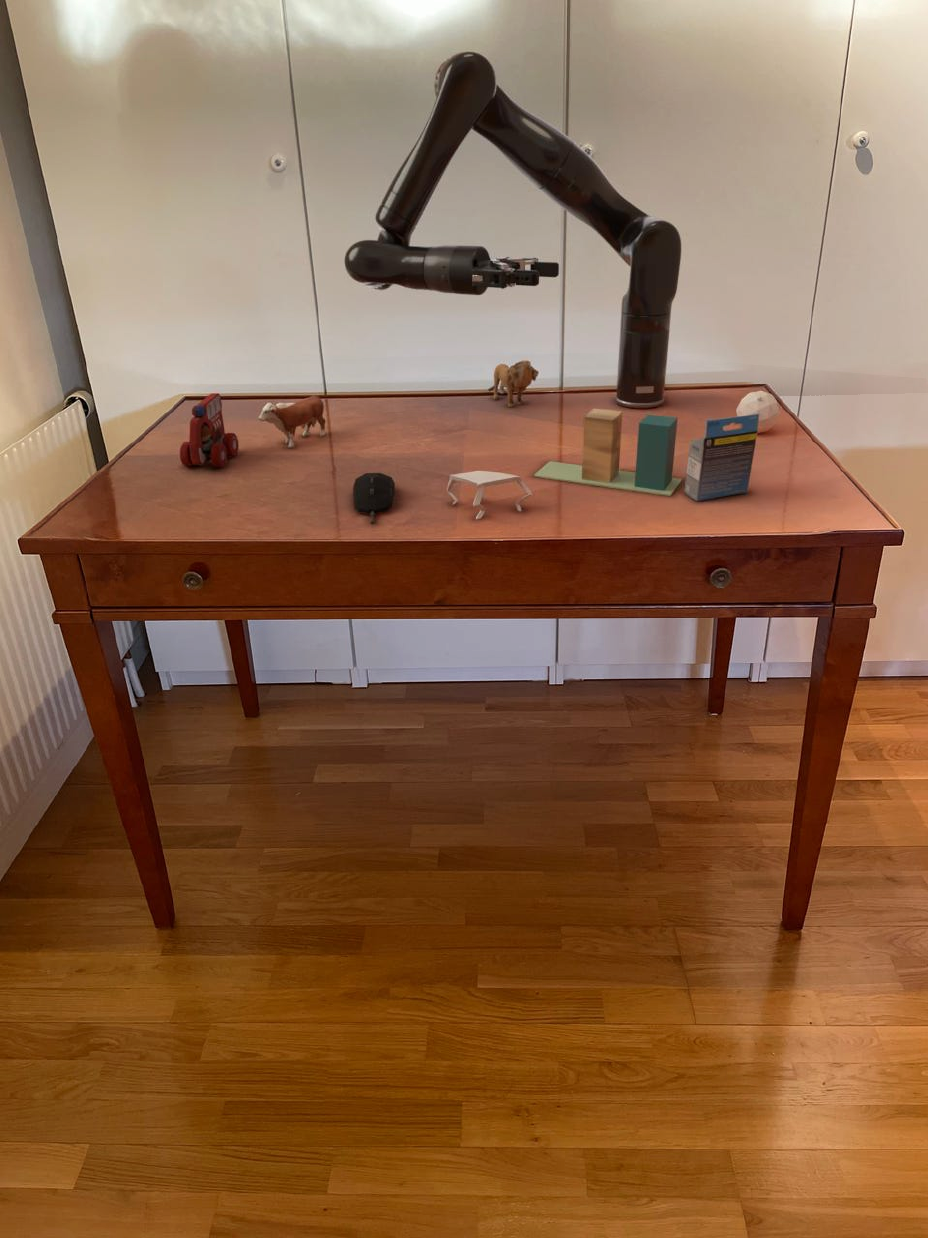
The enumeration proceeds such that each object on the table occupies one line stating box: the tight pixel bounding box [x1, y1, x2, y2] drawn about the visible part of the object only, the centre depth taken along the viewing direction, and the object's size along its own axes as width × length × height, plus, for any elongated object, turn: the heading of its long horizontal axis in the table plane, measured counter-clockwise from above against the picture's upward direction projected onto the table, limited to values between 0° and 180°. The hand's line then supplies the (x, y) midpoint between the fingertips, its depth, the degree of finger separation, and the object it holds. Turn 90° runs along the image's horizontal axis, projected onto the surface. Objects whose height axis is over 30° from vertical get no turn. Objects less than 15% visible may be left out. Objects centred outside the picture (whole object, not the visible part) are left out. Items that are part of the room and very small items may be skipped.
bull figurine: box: [258, 394, 327, 449], centre depth 157 cm, size 4×13×8 cm, turn 137°
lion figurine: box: [487, 359, 540, 408], centre depth 175 cm, size 15×5×9 cm, turn 33°
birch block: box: [581, 408, 623, 483], centre depth 137 cm, size 5×5×10 cm
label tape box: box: [684, 414, 759, 502], centre depth 129 cm, size 9×4×12 cm, turn 108°
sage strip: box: [533, 460, 683, 497], centre depth 139 cm, size 7×22×1 cm, turn 64°
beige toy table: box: [446, 470, 533, 520], centre depth 129 cm, size 12×8×5 cm
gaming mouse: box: [352, 472, 396, 525], centre depth 132 cm, size 6×15×4 cm, turn 3°
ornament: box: [735, 390, 781, 434], centre depth 155 cm, size 7×7×8 cm
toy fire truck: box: [179, 392, 240, 468], centre depth 149 cm, size 7×12×10 cm, turn 172°
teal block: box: [634, 413, 679, 491], centre depth 133 cm, size 5×5×10 cm
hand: (548, 273), depth 140 cm, fingers open, 8 cm apart
